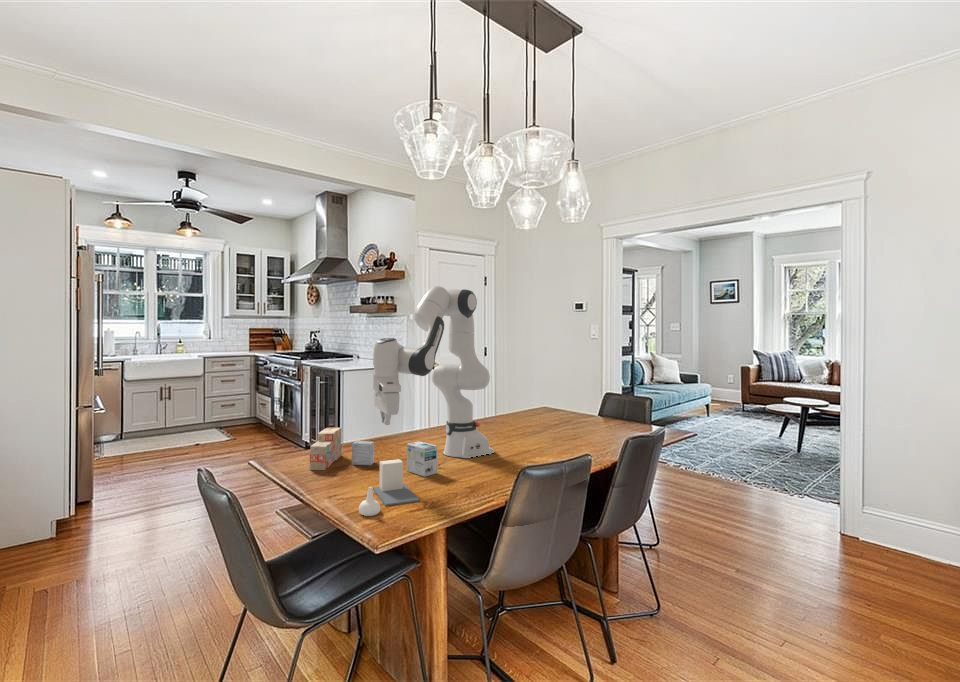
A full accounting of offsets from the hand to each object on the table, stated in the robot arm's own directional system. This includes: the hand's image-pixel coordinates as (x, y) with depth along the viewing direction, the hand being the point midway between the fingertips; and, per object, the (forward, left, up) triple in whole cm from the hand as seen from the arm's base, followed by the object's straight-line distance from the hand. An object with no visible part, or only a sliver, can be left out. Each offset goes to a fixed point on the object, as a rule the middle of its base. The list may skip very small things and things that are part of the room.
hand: (385, 423), depth 173 cm
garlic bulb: (+11, +25, -21) cm, 35 cm away
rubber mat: (0, +14, -21) cm, 25 cm away
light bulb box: (-16, -7, -21) cm, 28 cm away
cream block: (0, +8, -20) cm, 22 cm away
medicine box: (+2, -27, -21) cm, 34 cm away
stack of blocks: (+15, -35, -22) cm, 44 cm away
